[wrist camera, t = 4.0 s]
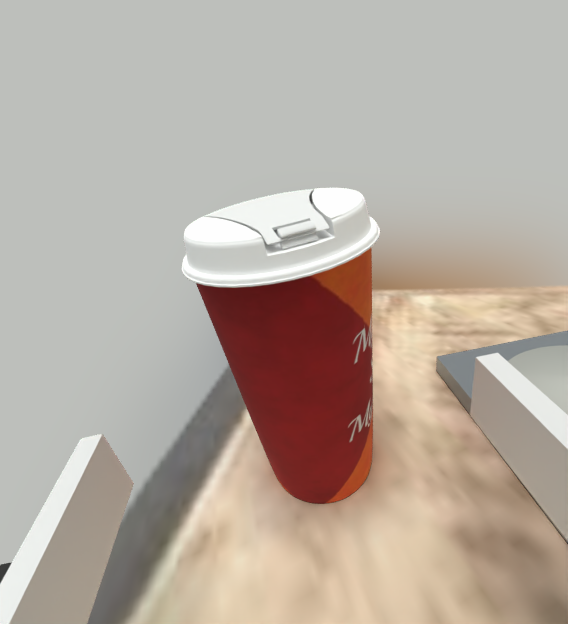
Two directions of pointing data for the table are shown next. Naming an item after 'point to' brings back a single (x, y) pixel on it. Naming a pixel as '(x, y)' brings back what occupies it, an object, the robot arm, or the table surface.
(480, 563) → the table surface
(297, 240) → the paper cup
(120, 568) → the table surface
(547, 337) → the coaster
